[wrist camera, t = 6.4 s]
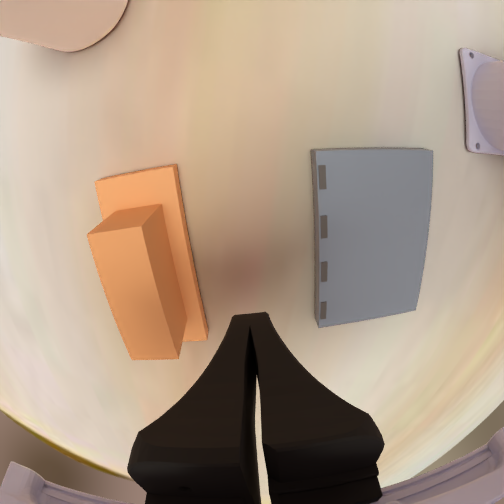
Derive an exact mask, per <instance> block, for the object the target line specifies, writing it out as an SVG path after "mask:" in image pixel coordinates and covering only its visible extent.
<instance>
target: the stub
mask: <svg viewBox="0 0 504 504" xmlns="http://www.w3.org/2000/svg"><path fill="white" fill-rule="evenodd" d="M95 186H96V191H97V196H98V200H99V205H100V209H101V214H102V218H103V221H102V222H101V223H100V224H99V225H98V226H96V227H95V228H94V229H93V230H92V231H90V232H89V233H88V234H87V237H88V241H89V245H90V248H91V251H92V255H93V258H94V261H95V264H96V268H97V271H98V274H99V277H100V280H101V283H102V286H103V289H104V292H105V294H106V297H107V300H108V303H109V305H110V308H111V311H112V313H113V316H114V319H115V321H116V324H117V326H118V329H119V331H120V334H121V336H122V339H123V341H124V343H125V346H126V348H127V350H128V353H129V355H130V357H131V359H132V360H160V359H179V355H180V350H181V346H182V342H185V341H201V340H207V337H208V327H207V323H206V319H205V314H204V310H203V305H202V300H201V296H200V291H199V286H198V282H197V277H196V272H195V267H194V262H193V257H192V252H191V246H190V241H189V236H188V230H187V225H186V219H185V213H184V207H183V202H182V196H181V189H180V183H179V177H178V170H177V164H174V165H168V166H163V167H157V168H151V169H146V170H140V171H135V172H130V173H125V174H120V175H116V176H111V177H106V178H102V179H100V180H98V181H96V182H95Z"/></svg>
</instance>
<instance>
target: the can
mask: <svg viewBox="0 0 504 504" xmlns="http://www.w3.org/2000/svg"><path fill="white" fill-rule="evenodd" d="M127 2H128V0H0V36H2V37H7V38H11V39H16V40H20V41H24V42H28V43H32V44H36V45H40V46H43V47H47V48H51V49H54V50H58V51H63V52H73V51H78V50H82V49H84V48H87V47H89V46H91V45H93V44H94V43H96V42H97V41H99V40H100V39H102V38H103V37H104V36H105V35H107V34H108V33H109V32H110V31H111V30H112V29H113V28H114V27H115V25H116V24H117V23H118V21H119V20H120V18H121V16H122V14H123V12H124V10H125V8H126V5H127Z"/></svg>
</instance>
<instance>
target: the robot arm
mask: <svg viewBox="0 0 504 504" xmlns="http://www.w3.org/2000/svg"><path fill="white" fill-rule="evenodd" d="M469 54H470V55H469ZM470 56H471V57H470ZM460 59H461V66H462V74H463V84H464V95H465V110H466V146H467V149H468V150H469V151H470V152H475V153H485V154H495V155H503V156H504V61H500V60H498V59H495V58H493V57H490V56H488V55H485V54H482V53H479V52H477V51H474V50H471V49H468V48H461V49H460ZM476 144H477V148H476ZM256 377H257V378H258V383H259V389H260V403H261V427H262V445H263V451H264V457H265V463H266V469H267V474H268V486H269V495H270V499H271V504H494V503H496V502H497V501H499V500H500V499H502V498H503V497H504V427H503V428H501V429H500V430H498V431H497V432H496V433H495V434H494V435H493V436H492V437H491V438H490V440H489V441H488V443H487V444H486V445H484V446H482V447H480V448H478V449H476V450H474V451H472V452H471V453H469V454H467V455H465V456H463V457H461V458H458V459H456V460H454V461H452V462H450V463H448V464H445V465H443V466H441V467H439V468H436V469H434V470H432V471H429V472H427V473H424V474H422V475H419V476H417V477H414V478H411V479H408V480H405V481H402V482H400V483H397V484H393V485H390V486H387V487H384V488H380V484H379V481H378V478H377V476H378V474H379V471H378V468H377V464H376V462H377V460H378V458H379V456H380V455H381V453H382V451H383V448H384V441H383V438H382V435H381V433H380V431H379V429H378V427H377V426H376V424H375V422H374V421H373V419H372V418H371V416H370V415H369V414H368V413H366V412H364V411H362V410H360V409H358V408H356V407H354V406H353V405H351V404H349V403H348V402H346V401H345V400H343V399H341V398H340V397H338V396H337V395H336V394H334V393H333V392H332V391H330V390H329V389H328V388H326V387H325V386H324V385H323V384H321V383H320V382H319V381H318V380H317V379H315V378H314V377H313V376H312V375H311V374H310V373H309V372H308V371H307V370H306V369H305V368H304V367H303V366H302V365H301V364H300V363H299V362H298V360H297V359H296V358H295V357H294V356H293V354H292V353H291V352H290V351H289V349H288V348H287V347H286V345H285V344H284V342H283V341H282V339H281V338H280V336H279V335H278V333H277V332H276V330H275V328H274V326H273V324H272V322H271V320H270V317H269V314H268V313H266V312H261V313H251V314H241V315H234V316H233V317H232V319H231V322H230V325H229V328H228V330H227V332H226V334H225V337H224V339H223V341H222V342H221V344H220V346H219V348H218V350H217V352H216V354H215V355H214V357H213V358H212V360H211V362H210V363H209V365H208V366H207V368H206V369H205V371H204V372H203V373H202V375H201V376H200V377H199V379H198V380H197V381H196V382H195V384H194V385H193V386H192V387H191V388H190V389H189V390H188V392H187V393H186V394H185V395H184V396H183V397H182V398H181V399H180V400H179V401H178V402H177V403H176V404H175V405H173V406H172V407H171V408H170V409H169V410H168V411H167V412H166V413H165V414H163V415H162V416H161V417H160V418H158V419H157V420H155V421H154V422H153V423H151V424H150V425H148V426H147V427H145V428H144V429H143V430H141V431H139V432H138V434H137V437H136V439H135V442H134V444H133V447H132V450H131V454H130V459H129V463H128V467H127V470H128V473H129V475H130V476H131V477H132V479H133V480H134V481H135V482H136V483H137V484H139V485H140V486H141V487H142V488H143V489H144V490H145V491H146V492H147V495H146V501H145V504H261V497H260V486H259V474H258V462H257V449H256V435H255V404H256ZM0 504H132V503H127V502H121V501H117V500H111V499H107V498H103V497H99V496H95V495H91V494H87V493H83V492H79V491H76V490H72V489H69V488H66V487H63V486H60V485H57V484H54V483H51V482H48V481H45V480H44V479H43V478H42V477H41V476H40V475H39V474H38V473H36V472H35V471H33V470H31V469H29V468H27V467H25V466H22V465H20V464H17V463H15V462H10V465H9V467H8V469H7V472H6V475H5V477H4V480H3V482H2V485H1V487H0Z"/></svg>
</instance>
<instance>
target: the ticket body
mask: <svg viewBox="0 0 504 504" xmlns="http://www.w3.org/2000/svg"><path fill="white" fill-rule="evenodd" d="M311 160H312V177H313V198H314V225H315V319H316V322H317V325H318V328H321V327H328V326H334V325H340V324H346V323H352V322H358V321H364V320H369V319H375V318H380V317H385V316H390V315H395V314H400V313H405V312H409V311H414V310H416V307H417V302H418V297H419V292H420V286H421V281H422V275H423V269H424V262H425V256H426V248H427V240H428V232H429V222H430V211H431V198H432V178H433V151H432V150H428V149H423V148H333V149H311Z"/></svg>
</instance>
